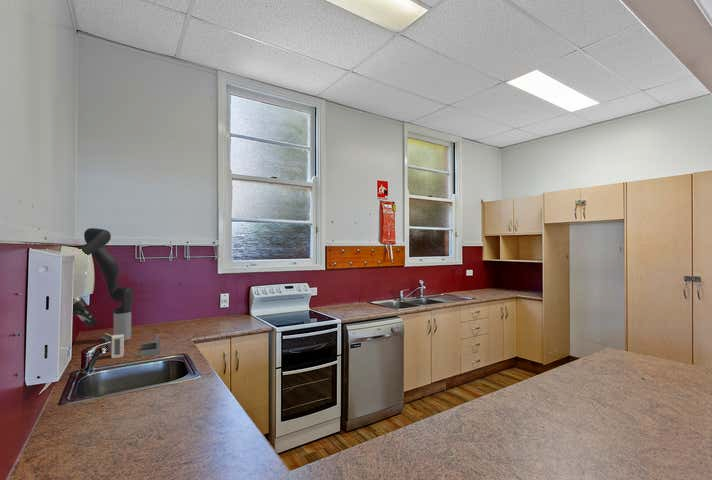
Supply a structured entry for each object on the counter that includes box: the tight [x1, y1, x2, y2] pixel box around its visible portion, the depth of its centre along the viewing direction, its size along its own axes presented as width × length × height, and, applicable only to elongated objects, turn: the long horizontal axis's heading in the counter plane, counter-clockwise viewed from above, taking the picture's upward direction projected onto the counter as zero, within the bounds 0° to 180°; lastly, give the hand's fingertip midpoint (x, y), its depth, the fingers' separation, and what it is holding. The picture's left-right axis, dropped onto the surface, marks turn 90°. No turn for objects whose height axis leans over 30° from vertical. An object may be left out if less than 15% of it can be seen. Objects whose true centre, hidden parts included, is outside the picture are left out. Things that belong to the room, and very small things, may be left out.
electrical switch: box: [99, 333, 114, 353], centre depth 197 cm, size 9×5×9 cm, turn 57°
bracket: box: [139, 332, 161, 358], centre depth 196 cm, size 14×9×8 cm, turn 31°
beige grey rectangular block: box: [111, 334, 125, 359], centre depth 188 cm, size 5×5×11 cm
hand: (94, 326), depth 183 cm, fingers open, 8 cm apart
